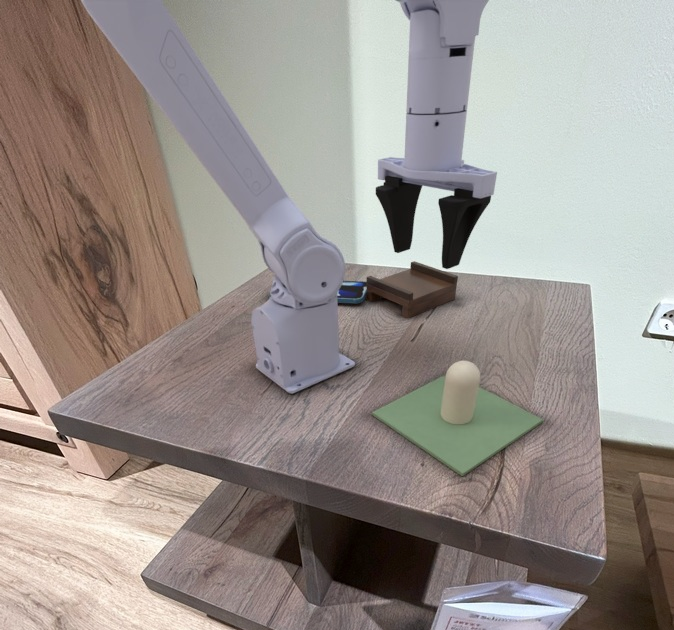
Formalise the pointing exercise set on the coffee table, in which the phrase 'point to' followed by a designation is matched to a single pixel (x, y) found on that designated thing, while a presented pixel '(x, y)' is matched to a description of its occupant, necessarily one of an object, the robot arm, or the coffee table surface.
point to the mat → (457, 426)
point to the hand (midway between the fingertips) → (425, 258)
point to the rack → (414, 288)
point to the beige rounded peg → (460, 392)
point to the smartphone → (351, 292)
